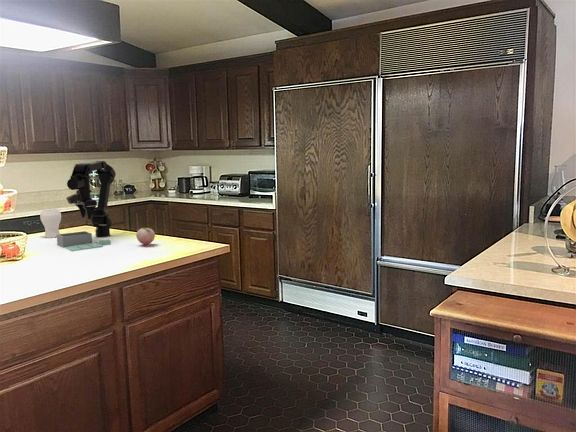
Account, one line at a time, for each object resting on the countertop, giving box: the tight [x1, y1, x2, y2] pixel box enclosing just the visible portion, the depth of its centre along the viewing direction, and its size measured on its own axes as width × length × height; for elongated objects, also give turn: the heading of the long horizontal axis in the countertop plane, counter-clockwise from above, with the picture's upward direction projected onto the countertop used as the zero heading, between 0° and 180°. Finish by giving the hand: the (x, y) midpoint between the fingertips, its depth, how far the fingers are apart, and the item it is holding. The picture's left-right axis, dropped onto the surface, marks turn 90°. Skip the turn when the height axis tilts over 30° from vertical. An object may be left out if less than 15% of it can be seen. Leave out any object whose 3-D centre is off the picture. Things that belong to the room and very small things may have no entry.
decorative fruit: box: [135, 227, 156, 246], centre depth 241 cm, size 9×8×10 cm
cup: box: [39, 208, 62, 239], centre depth 269 cm, size 11×11×15 cm
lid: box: [64, 238, 112, 252], centre depth 236 cm, size 20×11×3 cm, turn 130°
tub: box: [56, 230, 93, 249], centre depth 243 cm, size 14×10×6 cm
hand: (86, 218), depth 247 cm, fingers open, 9 cm apart
